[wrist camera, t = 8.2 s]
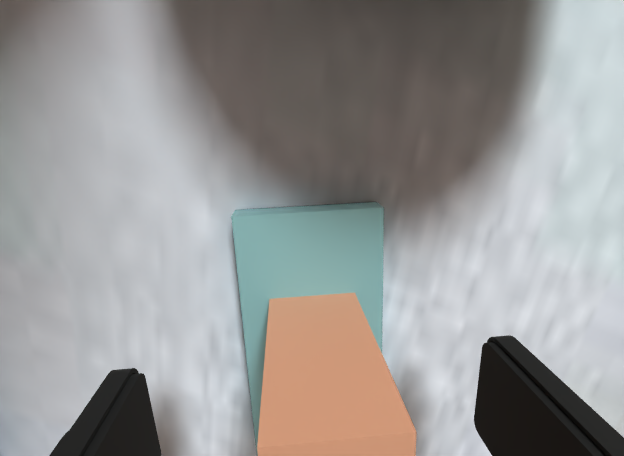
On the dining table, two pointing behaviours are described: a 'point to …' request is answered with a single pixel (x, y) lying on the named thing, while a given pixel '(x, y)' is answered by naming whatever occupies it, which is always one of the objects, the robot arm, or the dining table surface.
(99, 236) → the dining table surface
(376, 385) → the stub
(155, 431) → the robot arm
